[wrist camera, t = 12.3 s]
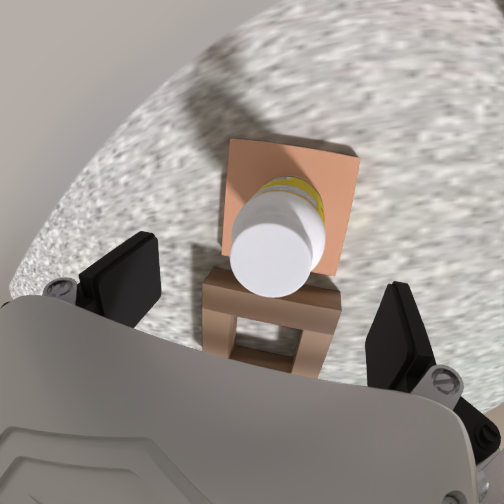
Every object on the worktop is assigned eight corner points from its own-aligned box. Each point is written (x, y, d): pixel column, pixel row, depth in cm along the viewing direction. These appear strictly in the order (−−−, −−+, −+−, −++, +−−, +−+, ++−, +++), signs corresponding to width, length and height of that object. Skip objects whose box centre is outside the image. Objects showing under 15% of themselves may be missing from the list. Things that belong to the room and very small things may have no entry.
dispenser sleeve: (213, 267, 27) (202, 283, 25) (340, 291, 25) (341, 310, 23) (211, 355, 32) (203, 373, 30) (311, 377, 31) (309, 396, 28)
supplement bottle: (304, 251, 24) (291, 325, 15) (245, 221, 24) (199, 279, 15) (336, 194, 21) (347, 242, 12) (273, 161, 21) (237, 186, 12)
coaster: (233, 138, 22) (229, 138, 21) (358, 157, 20) (360, 158, 20) (225, 250, 26) (221, 254, 25) (334, 270, 25) (335, 276, 24)
